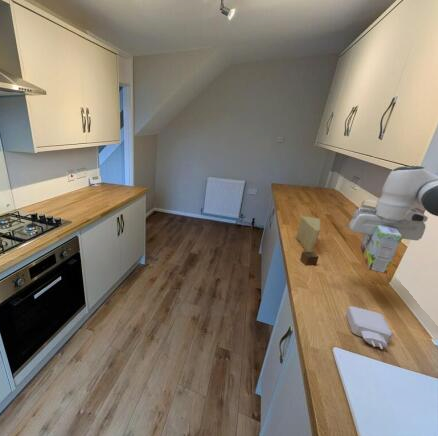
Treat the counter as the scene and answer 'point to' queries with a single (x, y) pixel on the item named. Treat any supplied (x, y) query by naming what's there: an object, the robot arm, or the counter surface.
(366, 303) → the counter surface
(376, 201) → the grater
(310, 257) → the walnut block
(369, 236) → the snack box
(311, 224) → the cheese
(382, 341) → the charger
